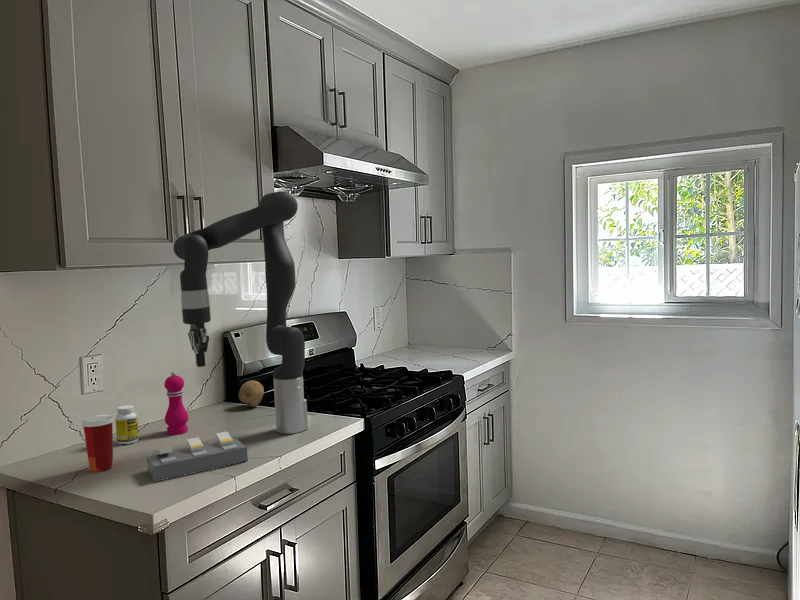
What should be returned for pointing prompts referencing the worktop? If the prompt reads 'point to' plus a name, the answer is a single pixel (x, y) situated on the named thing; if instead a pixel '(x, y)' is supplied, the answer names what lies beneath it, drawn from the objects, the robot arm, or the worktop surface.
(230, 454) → the rocker switch box
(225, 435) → the rocker
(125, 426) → the pill bottle
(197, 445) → the rocker middle
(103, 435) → the paper cup
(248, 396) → the brown potato
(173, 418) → the pepper mill
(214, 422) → the worktop surface
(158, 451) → the rocker
